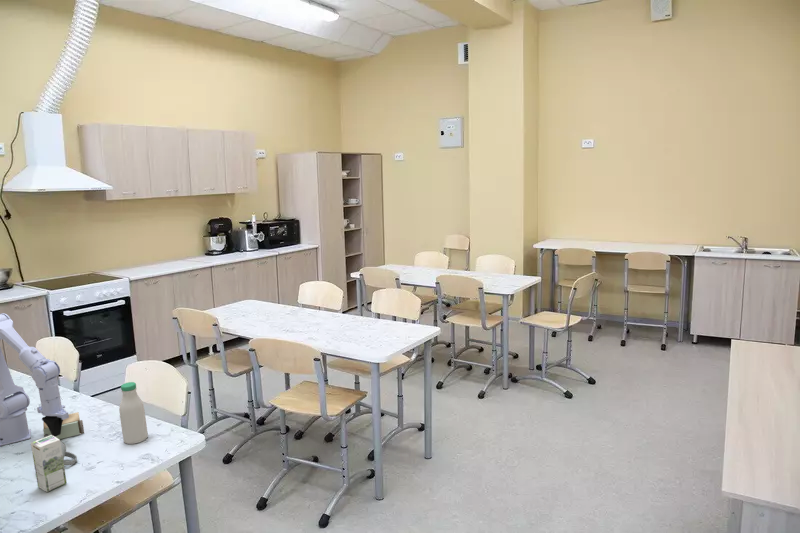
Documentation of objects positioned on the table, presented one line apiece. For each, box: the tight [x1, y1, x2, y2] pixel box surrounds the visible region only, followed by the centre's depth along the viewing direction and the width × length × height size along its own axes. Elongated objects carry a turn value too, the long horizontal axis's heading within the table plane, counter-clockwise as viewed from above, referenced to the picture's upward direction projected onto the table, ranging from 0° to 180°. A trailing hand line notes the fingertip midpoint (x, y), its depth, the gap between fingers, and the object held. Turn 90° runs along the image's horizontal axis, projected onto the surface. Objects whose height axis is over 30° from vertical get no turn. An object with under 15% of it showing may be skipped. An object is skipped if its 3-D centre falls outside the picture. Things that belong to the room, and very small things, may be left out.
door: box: [42, 421, 81, 440], centre depth 201 cm, size 10×2×5 cm, turn 121°
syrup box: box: [30, 435, 67, 493], centre depth 171 cm, size 6×6×14 cm
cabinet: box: [42, 411, 85, 435], centre depth 206 cm, size 12×9×5 cm
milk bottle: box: [119, 381, 148, 445], centre depth 197 cm, size 8×8×20 cm
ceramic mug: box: [60, 440, 78, 466], centre depth 183 cm, size 11×8×8 cm
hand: (56, 435), depth 198 cm, fingers closed
